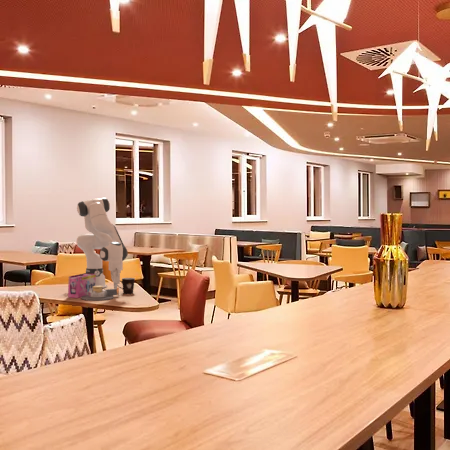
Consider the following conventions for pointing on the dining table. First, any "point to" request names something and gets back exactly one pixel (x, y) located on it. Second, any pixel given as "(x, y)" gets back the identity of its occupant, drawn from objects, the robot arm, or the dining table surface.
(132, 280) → the coffee mug
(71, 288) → the gum box
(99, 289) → the cap housing
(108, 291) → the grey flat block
